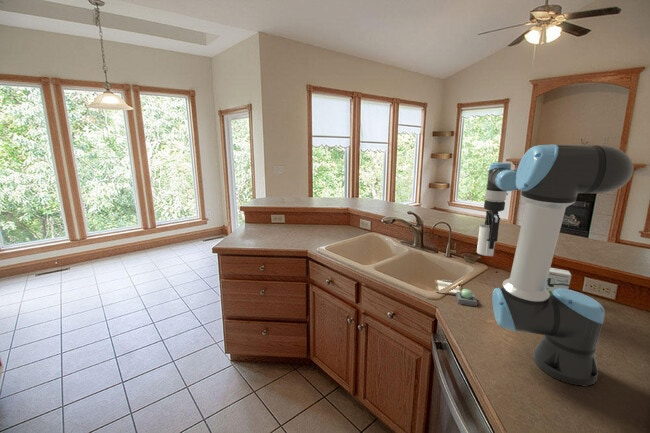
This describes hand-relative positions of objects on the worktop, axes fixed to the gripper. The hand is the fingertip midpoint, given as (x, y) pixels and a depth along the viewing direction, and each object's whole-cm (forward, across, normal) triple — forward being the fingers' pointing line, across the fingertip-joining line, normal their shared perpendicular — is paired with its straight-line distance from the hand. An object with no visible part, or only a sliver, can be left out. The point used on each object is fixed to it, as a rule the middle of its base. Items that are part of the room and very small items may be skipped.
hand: (487, 252), depth 131 cm
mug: (+1, +1, 0) cm, 1 cm away
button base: (+19, -10, +8) cm, 23 cm away
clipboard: (+19, 0, +14) cm, 24 cm away
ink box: (+19, +7, -30) cm, 37 cm away
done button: (+18, -10, +8) cm, 22 cm away
